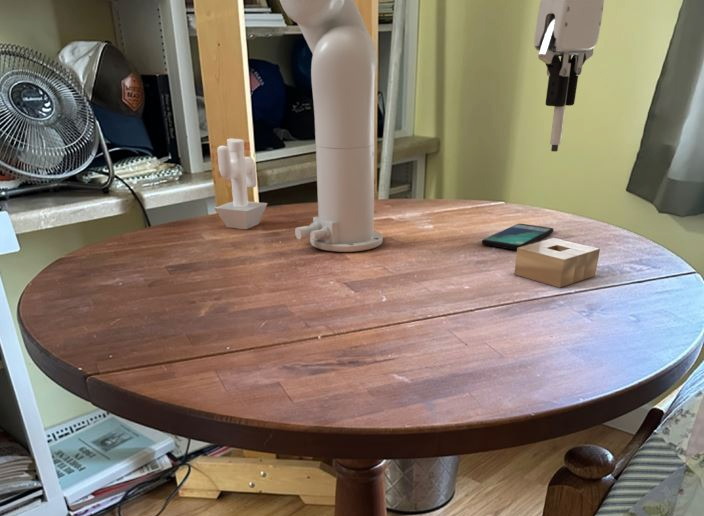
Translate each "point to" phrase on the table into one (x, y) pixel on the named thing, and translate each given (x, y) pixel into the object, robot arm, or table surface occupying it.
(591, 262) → the pen stand
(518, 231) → the smartphone
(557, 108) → the white rod
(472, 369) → the table surface
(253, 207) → the figurine
